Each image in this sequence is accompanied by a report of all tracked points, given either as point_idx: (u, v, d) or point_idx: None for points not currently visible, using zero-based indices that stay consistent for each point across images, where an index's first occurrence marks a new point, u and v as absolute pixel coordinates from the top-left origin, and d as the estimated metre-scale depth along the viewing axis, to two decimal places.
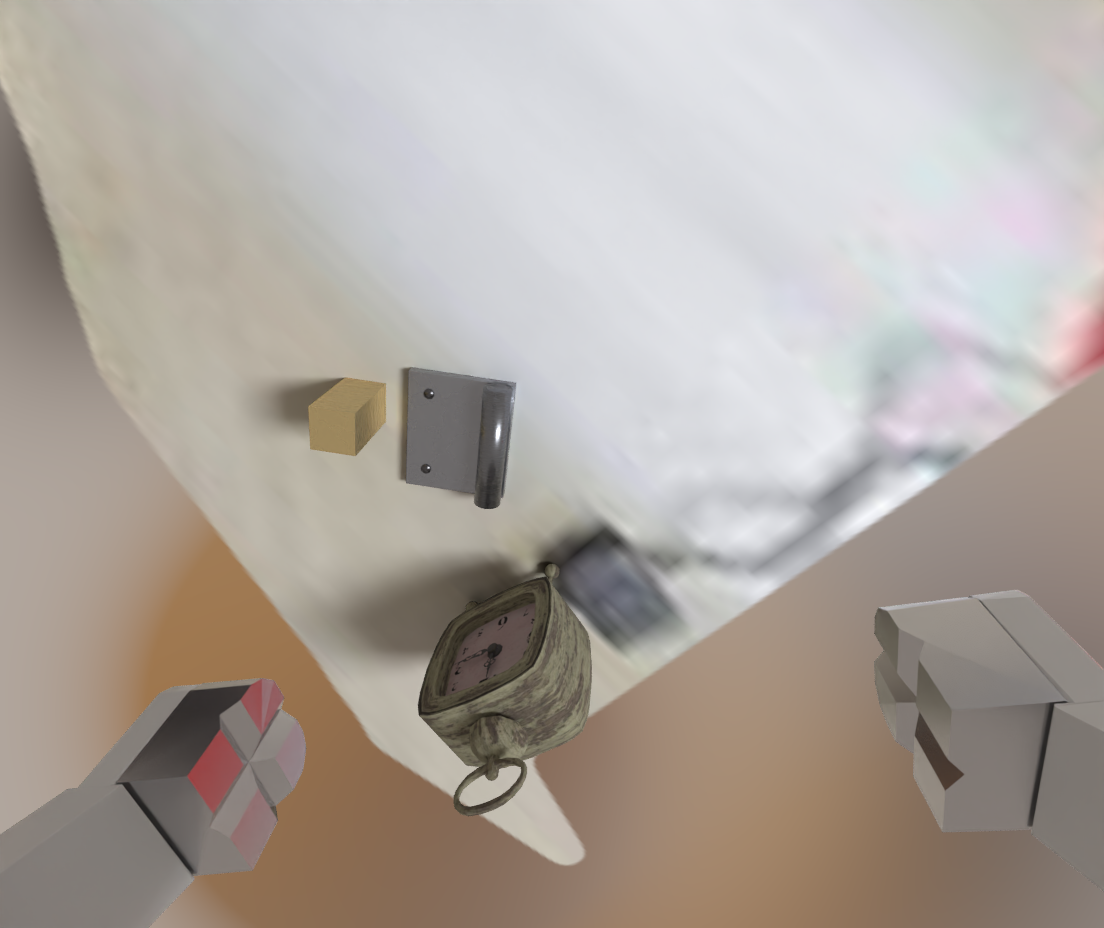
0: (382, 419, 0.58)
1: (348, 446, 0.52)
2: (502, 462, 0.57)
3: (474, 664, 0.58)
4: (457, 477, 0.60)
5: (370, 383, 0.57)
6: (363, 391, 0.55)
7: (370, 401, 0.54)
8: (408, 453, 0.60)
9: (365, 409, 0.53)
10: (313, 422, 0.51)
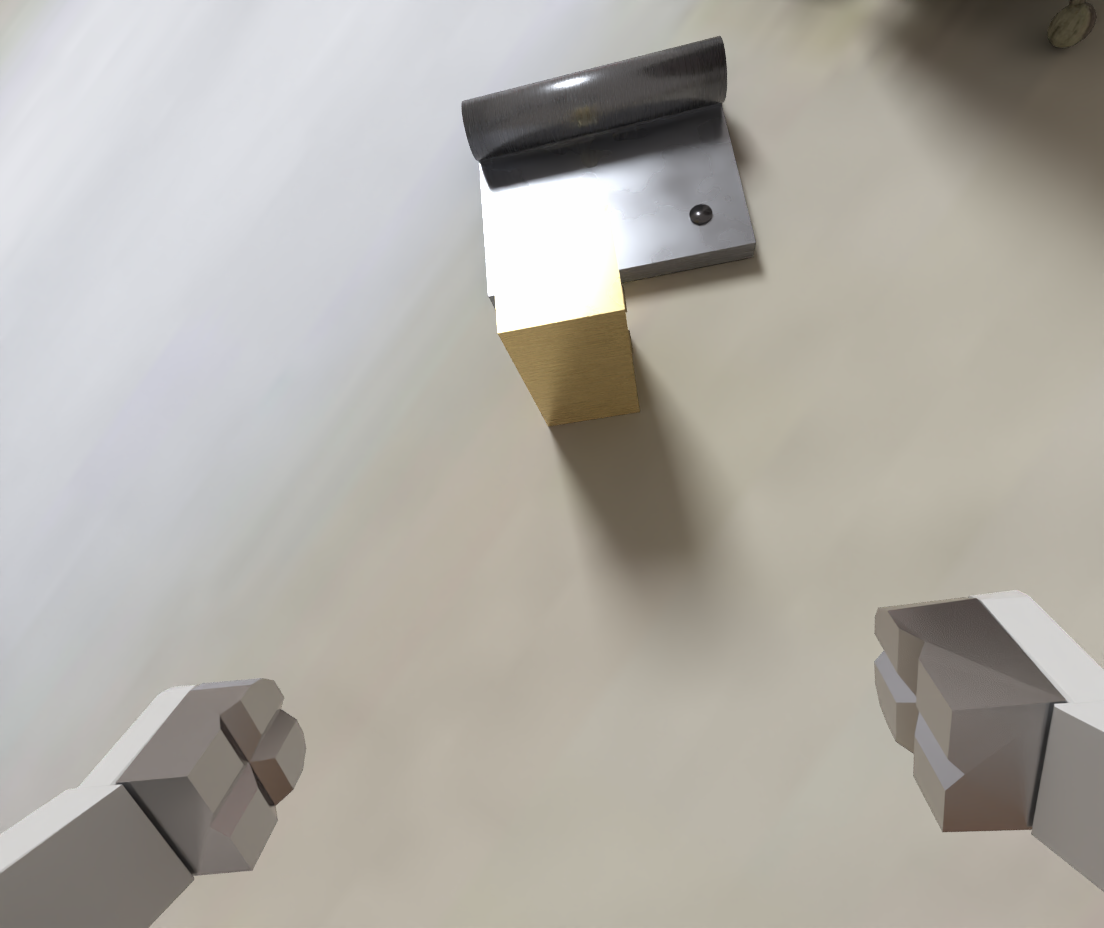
0: None
1: (587, 225, 0.19)
2: None
3: None
4: (697, 156, 0.28)
5: None
6: None
7: None
8: (675, 254, 0.26)
9: None
10: (540, 313, 0.19)
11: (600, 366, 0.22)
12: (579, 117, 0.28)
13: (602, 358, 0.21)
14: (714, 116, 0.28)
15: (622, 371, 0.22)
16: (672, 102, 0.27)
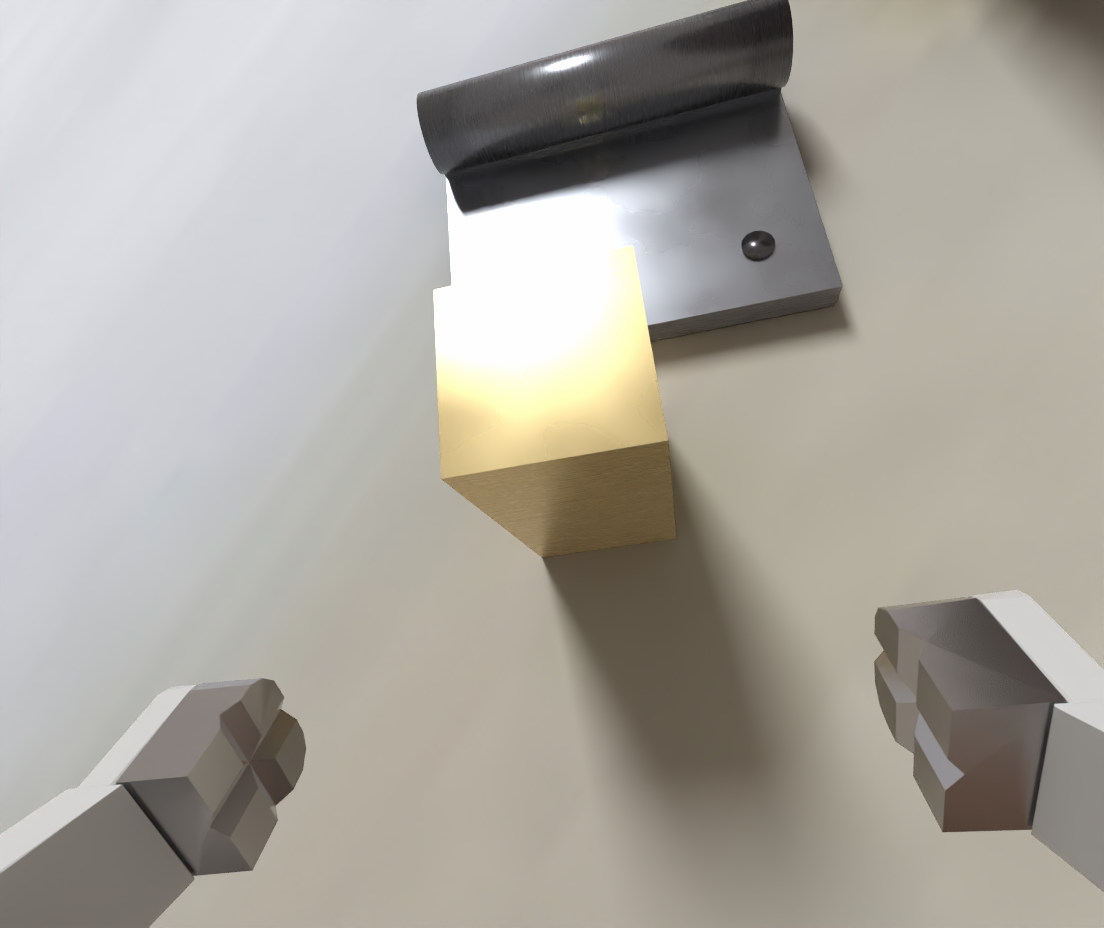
0: None
1: (596, 282, 0.11)
2: None
3: None
4: (748, 163, 0.20)
5: None
6: None
7: None
8: (723, 304, 0.18)
9: None
10: (516, 442, 0.11)
11: (620, 503, 0.13)
12: (581, 111, 0.20)
13: (624, 494, 0.13)
14: (770, 107, 0.20)
15: (655, 505, 0.14)
16: (713, 87, 0.19)
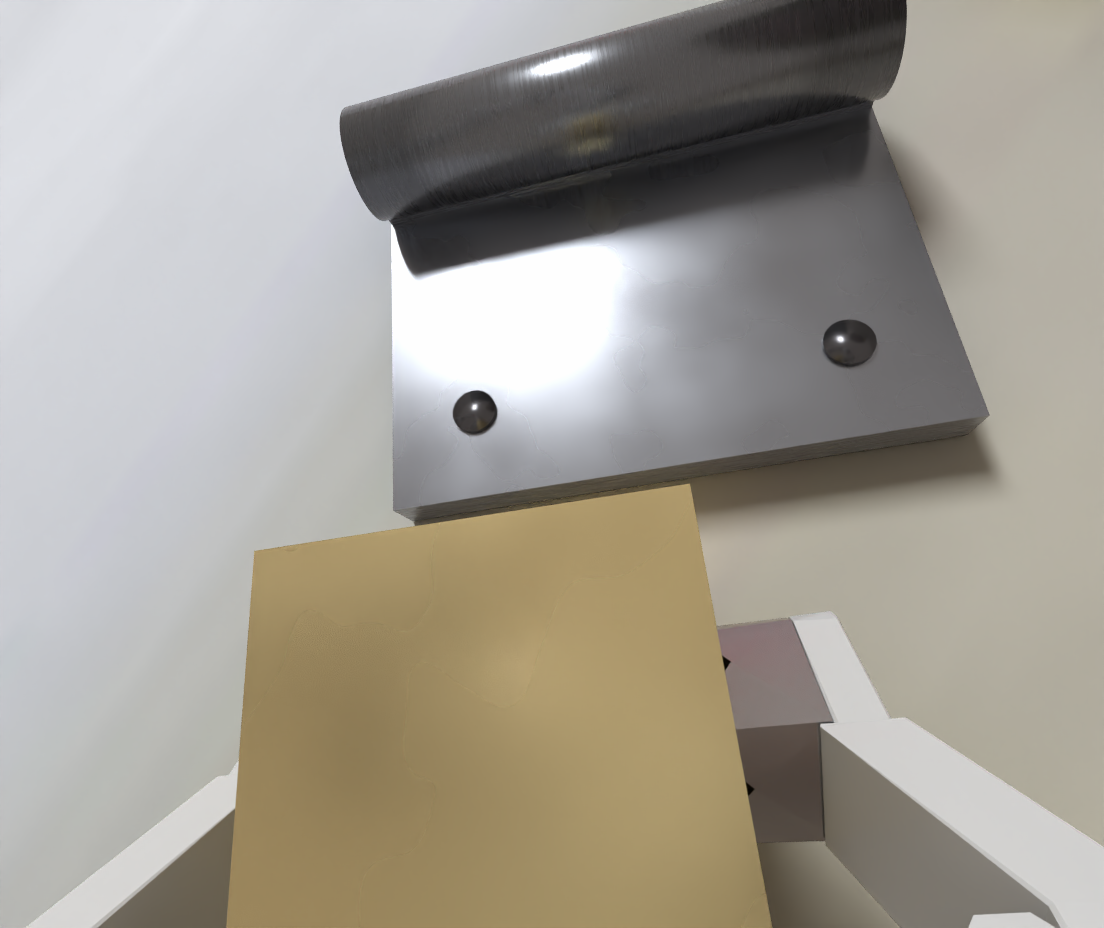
0: None
1: (606, 573, 0.05)
2: None
3: None
4: (827, 212, 0.13)
5: None
6: None
7: None
8: (797, 436, 0.12)
9: None
10: None
11: None
12: (580, 136, 0.13)
13: None
14: (857, 128, 0.14)
15: None
16: (778, 101, 0.13)
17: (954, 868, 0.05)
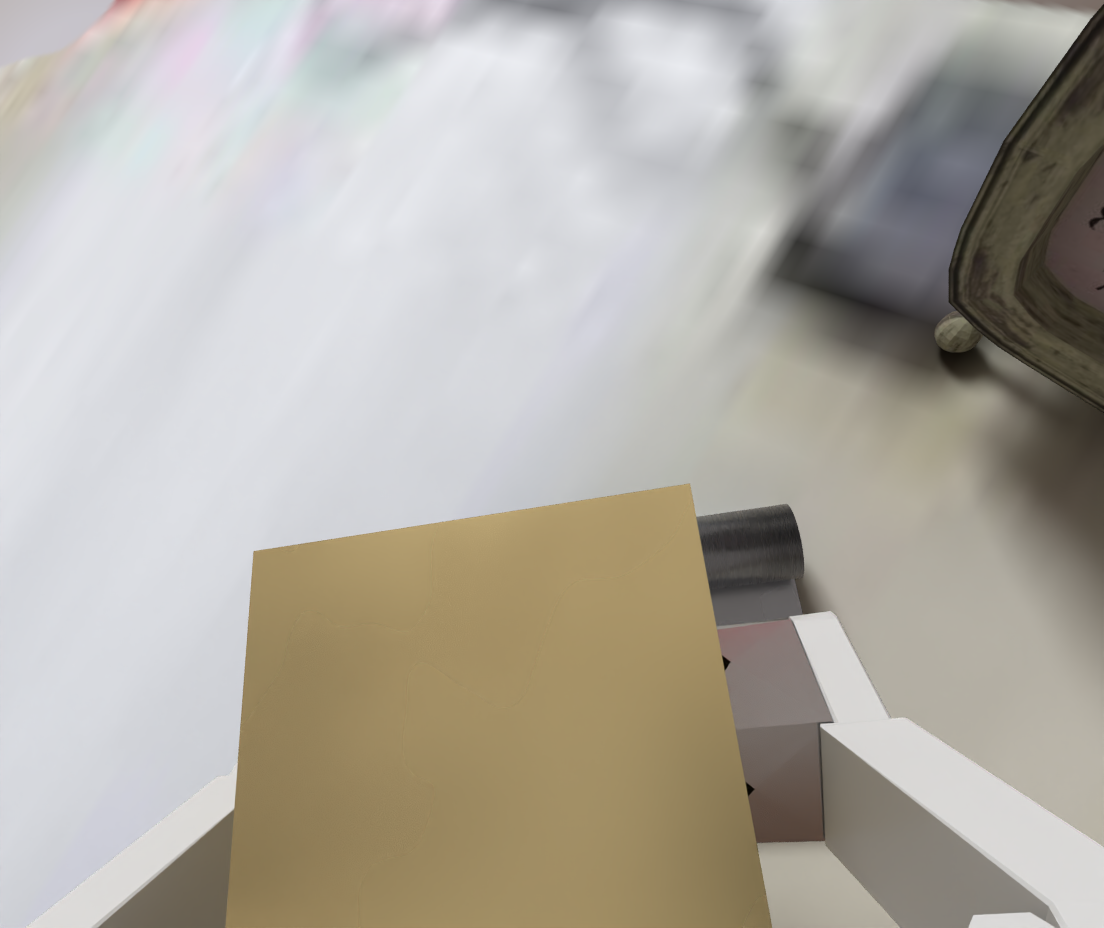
0: None
1: (605, 574, 0.05)
2: None
3: None
4: None
5: None
6: None
7: None
8: None
9: None
10: None
11: None
12: None
13: None
14: (782, 582, 0.22)
15: None
16: (730, 586, 0.21)
17: (954, 868, 0.05)
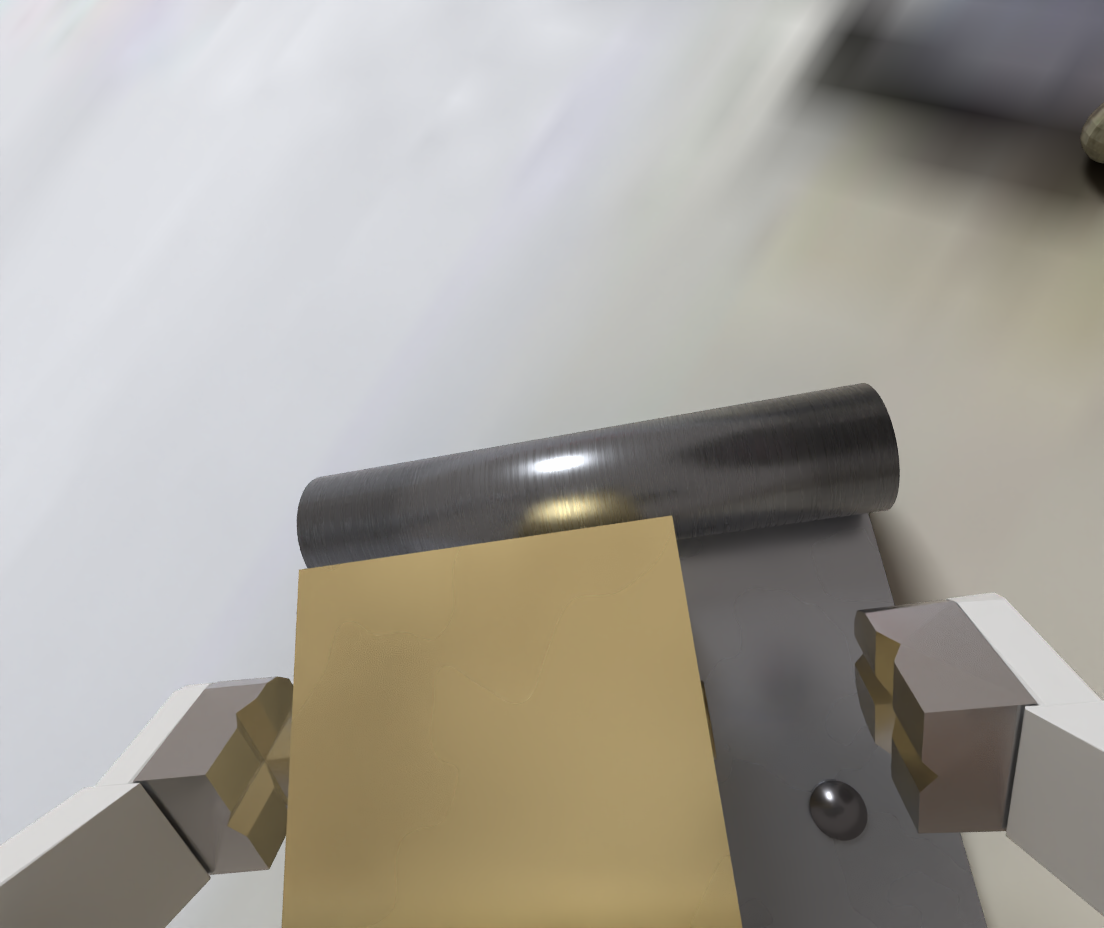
0: None
1: (601, 590, 0.06)
2: (620, 425, 0.13)
3: None
4: (816, 630, 0.12)
5: None
6: None
7: None
8: (782, 926, 0.11)
9: None
10: None
11: None
12: None
13: None
14: (848, 523, 0.13)
15: None
16: (762, 525, 0.12)
17: None
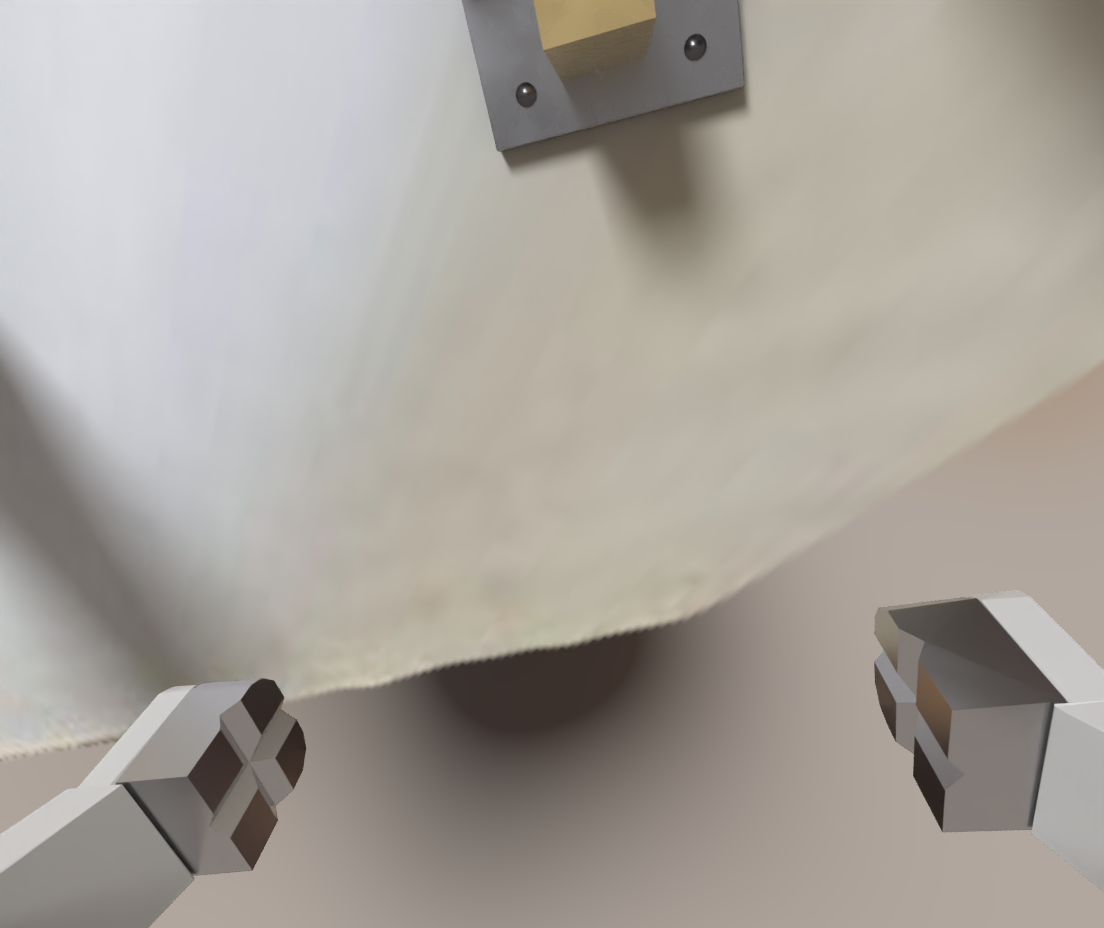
0: None
1: None
2: None
3: None
4: None
5: None
6: None
7: None
8: (669, 100, 0.28)
9: None
10: (579, 24, 0.21)
11: (621, 45, 0.24)
12: None
13: (625, 41, 0.23)
14: None
15: (640, 43, 0.24)
16: None
17: None
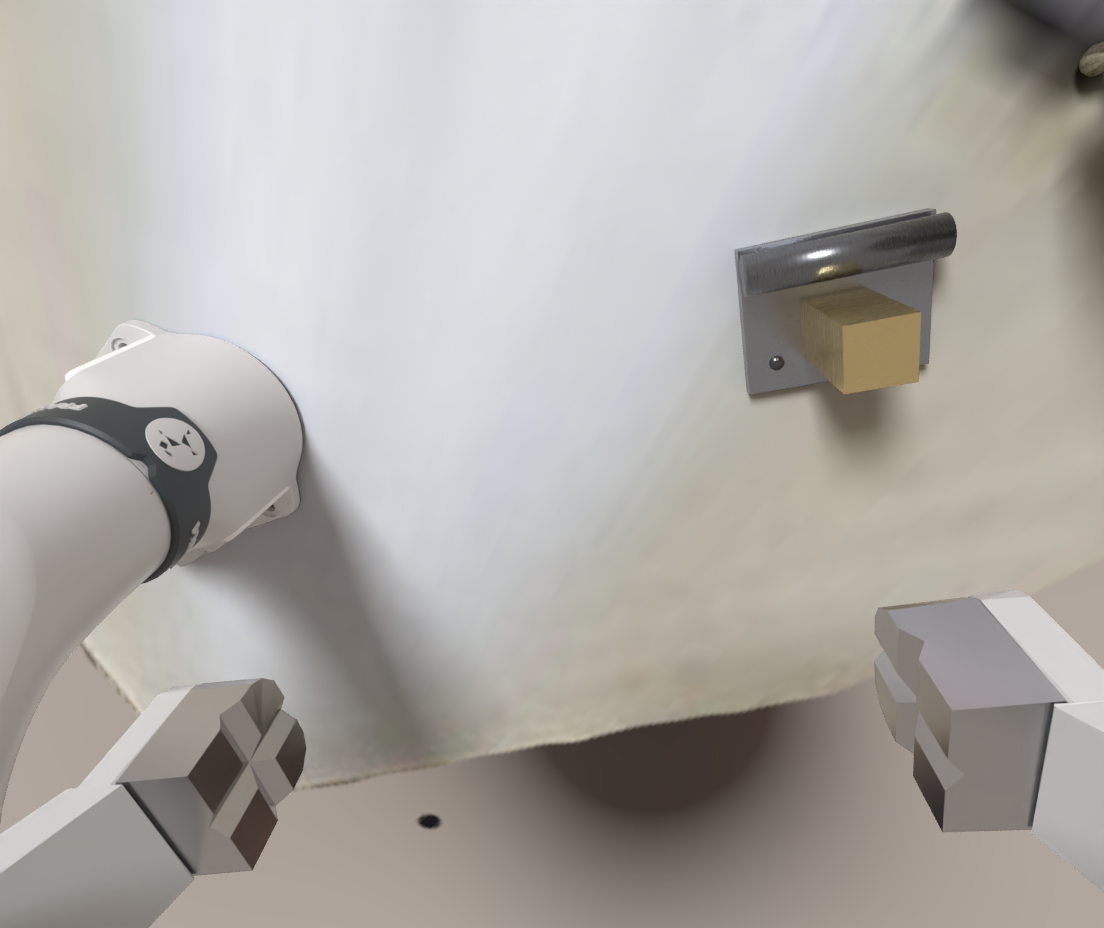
0: (859, 291, 0.39)
1: (905, 326, 0.33)
2: (863, 233, 0.36)
3: None
4: (906, 291, 0.39)
5: (803, 319, 0.40)
6: (813, 324, 0.38)
7: (824, 311, 0.36)
8: None
9: (837, 314, 0.35)
10: (870, 383, 0.34)
11: None
12: (833, 279, 0.38)
13: None
14: None
15: None
16: (903, 265, 0.38)
17: None
